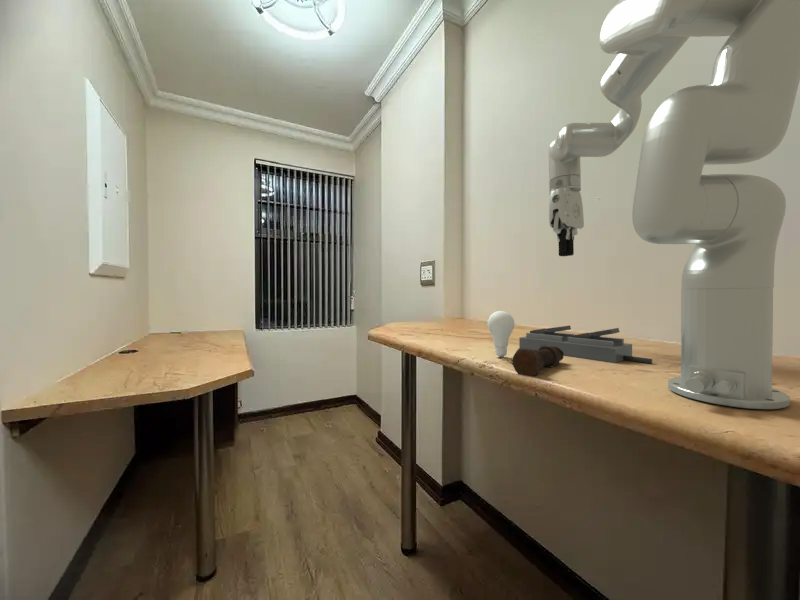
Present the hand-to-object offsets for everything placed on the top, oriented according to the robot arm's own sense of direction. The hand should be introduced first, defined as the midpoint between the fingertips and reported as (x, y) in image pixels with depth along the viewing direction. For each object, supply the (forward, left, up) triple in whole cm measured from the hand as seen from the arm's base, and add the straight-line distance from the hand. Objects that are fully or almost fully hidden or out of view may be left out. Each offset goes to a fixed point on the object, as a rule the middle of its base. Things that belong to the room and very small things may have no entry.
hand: (566, 255), depth 89 cm
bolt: (-26, -8, -25) cm, 37 cm away
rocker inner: (-6, -10, -20) cm, 23 cm away
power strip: (-6, -7, -25) cm, 26 cm away
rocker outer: (-6, +1, -20) cm, 21 cm away
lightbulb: (-23, +4, -25) cm, 34 cm away
